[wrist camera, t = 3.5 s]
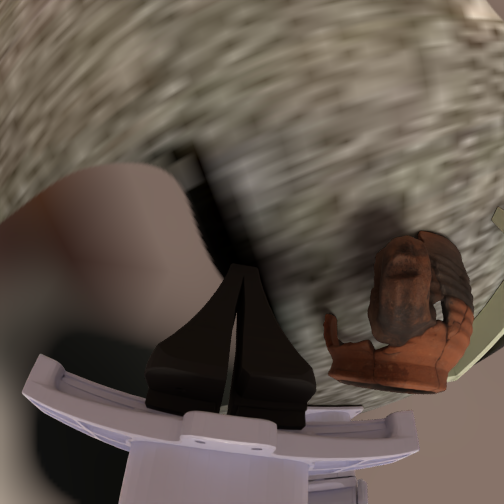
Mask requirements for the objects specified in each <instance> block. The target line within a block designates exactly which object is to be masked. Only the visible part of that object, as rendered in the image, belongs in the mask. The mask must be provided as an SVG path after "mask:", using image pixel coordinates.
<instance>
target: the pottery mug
mask: <svg viewBox="0 0 504 504" xmlns="http://www.w3.org/2000/svg"><path fill="white" fill-rule="evenodd" d="M418 239H419V240H418ZM418 239H415V238H413V237H411V236H408V235H405V236H403V237H396V238H394V239H393V240H392V241H391V242H389V243H388V244H387V246H386V247H385V248H383V249H382V250H381V251H380V252H378V253H377V254H376V257H375V260H376V261H375V264H374V274H375V276H374V287H373V289H372V290H371V295H370V305H369V307H368V318H369V321H370V325H371V329H372V334H373V336H374V337H375V339H376V340H377V341H379V342H381V343H386V344H389V345H388V346H385V347H382V348H380V349H377V350H376V349H374V346H373V344H372V342H371V341H370V340H364V341H361V342H357V343H352V342H349V343H342V342H341V341H340V340H339V339H338V336H337V319H336V317H335V316H333V315H331V314H326V315H325V322H324V324H323V326H324V338H325V341H326V346H327V348H328V351H329V353H330V354H331V356H332V359H333V363H332V366H331V369H330V371H329V372H328V375H329V376H330V377H333V378H334V379H336V380H337V381H339V382H341V383H344V384H348V385H354V386H356V387H362V388H369V389H375V390H381V391H390V392H397V393H408V394H436V393H439V392H443V391H445V390H446V387H447V385H446V384H447V378H448V373H449V371H450V370H451V369H452V368H453V367H455V366H456V364H457V363H458V362H459V360H460V359H461V358H462V357H463V355H464V353H465V350H466V349H467V347H468V346H469V344H470V337H471V335H472V333H473V327H472V324H473V320H474V316H473V314H474V306H473V295H472V294H471V286H470V285H469V283H470V280H469V277H468V275H467V273H466V270H465V268H464V265H463V262H462V258H461V254H460V252H459V250H458V249H457V247H456V246H455V245H454V244H453V243H451V242H450V241H449V240H448V239H446V238H445V237H443V236H441V235H436V234H434V233H431V232H426V231H420V232H419V234H418ZM438 301H441V306H442V313H443V321H441V320H436V310H435V308H434V306H433V304H435V303H436V302H438Z"/></svg>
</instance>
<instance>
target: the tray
mask: <svg viewBox="0 0 504 504" xmlns="http://www.w3.org/2000/svg"><path fill="white" fill-rule="evenodd" d="M492 221H493V222H494V223H495V224H496V226H497V227H498V228H499V229H500V230H501V231H502V232H503V233H504V210H503V209H501V208H499V207H498V208H497V210H496V212H495V214H494V216H493V218H492ZM472 327H473V333H472V335H471V337H470V344H469V346H468V347H467V349H466V350H465V353H464V355H463V357H462V358H461V359H460V360H459V362H458V363H457V364H456V366H455V367H453V368H452V369H451V370H450V371H449V373H448V378H447V382H450V381H456V380H457V379H458V378H460V377H461V376H462V375H463V374H464V373H465V372H466V371H467V370H468V369H470V368H471V367H472V366H473V365H474V364H475V363H476V362H477V361H478V360H479V359H480V358H481V357H482V356H483V355H484V354H485V353H486V352H487V351H488V350H489V349H490V348H491V347H492V346H493V345H494V344H495V343H496V342H497V341H498V340H499V338H500V337H501V336H502V335H503V334H504V281H503V282H502V284H501V285H500V287H499V288H498V289H497V291H496V292H495V294H494V295H493V296H492V298H491V299H490V300H489V302H488V303H487V304H486V306H485V307H484V308H483V310H482V311H481V312H480V313H479V315H478V316H477V317H476V318H475V319H474V321H473V324H472Z"/></svg>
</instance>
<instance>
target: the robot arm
mask: <svg viewBox="0 0 504 504" xmlns="http://www.w3.org/2000/svg"><path fill="white" fill-rule="evenodd" d="M236 313H237V329H236V352H235V361H234V368H233V375H232V383H231V390H230V398H229V404H228V411H227V415H224V414H219V411H220V406H221V402H222V397H223V393H224V388H225V383H226V378H227V369H228V361H229V352H230V343H231V336H232V329H233V325H234V321H235V317H236ZM144 375H145V378H146V381H147V384H148V387H149V390H148V393H147V397H146V399H144V398H141V397H137V396H134V395H130V394H127V393H124V392H121V391H118V390H114V389H112V388H109V387H106V386H103V385H100V384H97V383H95V382H92V381H89V380H87V379H84V378H81V377H79V376H76V375H74V374H71V373H69V372H67V371H65V369H64V368H63V366H62V365H61V364H60V363H59V362H57V361H55V360H53V359H51V358H49V357H46V356H44V355H42V354H40V355H39V357H38V359H37V361H36V363H35V365H34V367H33V369H32V371H31V373H30V375H29V377H28V379H27V382H26V384H25V386H24V388H23V391H22V394H23V395H24V396H25V397H26V398H27V399H29V400H30V401H31V402H32V403H33V404H34V405H36V406H37V407H38V408H39V409H40V410H41V411H43V412H44V413H45V414H47V415H49V416H51V417H53V418H55V419H57V420H59V421H61V422H63V423H65V424H67V425H69V426H71V427H73V428H75V429H77V430H79V431H81V432H83V433H85V434H87V435H89V436H92V437H94V438H96V439H99V440H101V441H103V442H105V443H108V444H110V445H113V446H116V447H118V448H121V449H124V450H126V451H129V452H130V453H129V457H128V461H127V466H126V470H125V475H124V479H123V484H122V489H121V494H120V499H119V504H368V494H367V493H368V491H367V482H365V481H363V479H359V480H358V487H357V479H356V477H355V470H357V469H363V468H369V467H374V466H379V465H384V464H389V463H393V462H395V461H398V460H400V459H403V458H405V457H407V456H409V455H412V454H414V453H416V452H418V451H419V450H420V447H419V441H418V435H417V430H416V424H415V419H414V414H413V411H412V410H407V411H399V412H394V413H391V414H390V415H388V416H387V417H386V418H384V419H374V420H361V421H351V419H352V418H353V417H355V416H356V415H357V414H359V413H360V412H361V411H363V410H364V409H363V407H362V406H355V407H307V402H308V401H309V400H310V398H311V397H312V396H313V395H314V394H315V392H316V381H315V377H314V373H313V369H312V367H311V366H310V365H309V364H308V363H307V362H306V361H305V360H304V359H303V358H302V357H301V355H300V354H299V353H298V352H297V351H296V349H295V348H294V347H293V345H292V344H291V343H290V341H289V340H288V338H287V337H286V336H285V334H284V332H283V331H282V329H281V328H280V326H279V324H278V322H277V320H276V319H275V317H274V315H273V313H272V310H271V308H270V306H269V303H268V301H267V298H266V296H265V293H264V290H263V287H262V283H261V279H260V275H259V269H258V268H257V267H252V266H246V265H240V264H234V263H233V264H231V265H230V268H229V270H228V273H227V275H226V276H225V278H224V280H223V282H222V283H221V285H220V286H219V288H218V289H217V291H216V292H215V293H214V295H213V296H212V297H211V299H210V300H209V301H208V302H207V303H206V305H205V306H204V307H203V308H202V309H201V310H200V311H199V312H198V313H197V314H196V315H195V316H194V317H193V318H192V319H191V320H190V321H189V322H188V323H187V324H185V325H184V326H183V327H182V328H180V329H179V330H178V331H177V332H175V333H174V334H173V335H171V336H170V337H168V338H167V339H165V340H164V341H162V342H160V343H159V344H158V345H157V346H156V348H155V349H154V351H153V353H152V354H151V356H150V358H149V360H148V362H147V366H146V369H145V372H144Z"/></svg>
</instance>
